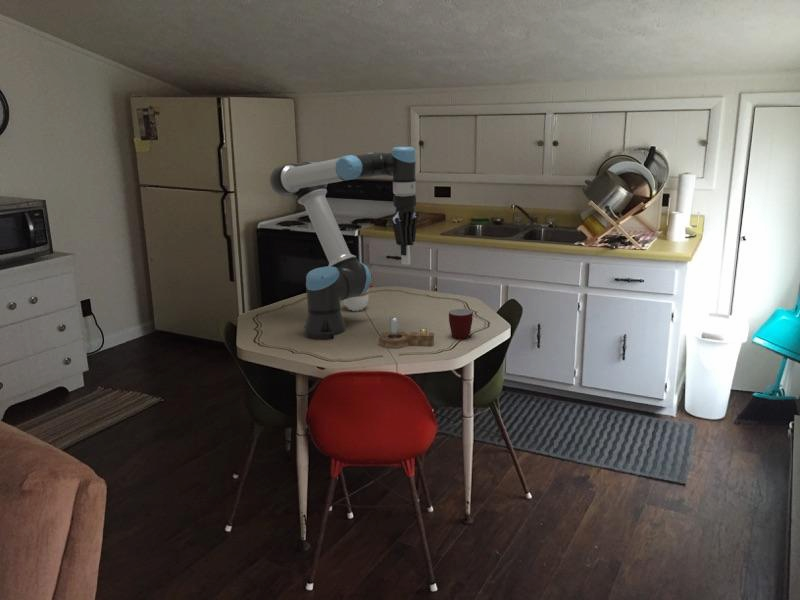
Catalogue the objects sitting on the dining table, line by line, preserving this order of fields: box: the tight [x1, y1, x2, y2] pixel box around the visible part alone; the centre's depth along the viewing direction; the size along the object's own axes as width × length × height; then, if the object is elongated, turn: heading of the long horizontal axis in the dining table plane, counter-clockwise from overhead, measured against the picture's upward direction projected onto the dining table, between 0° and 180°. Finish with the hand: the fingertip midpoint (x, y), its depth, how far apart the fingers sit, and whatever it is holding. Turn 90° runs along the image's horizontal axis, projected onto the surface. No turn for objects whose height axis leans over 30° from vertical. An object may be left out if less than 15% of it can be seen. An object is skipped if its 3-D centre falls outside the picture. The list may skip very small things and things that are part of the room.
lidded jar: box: [342, 289, 370, 312], centre depth 277 cm, size 11×11×9 cm
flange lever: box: [378, 331, 435, 349], centre depth 231 cm, size 18×10×4 cm, turn 81°
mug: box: [448, 308, 474, 340], centre depth 238 cm, size 11×8×10 cm
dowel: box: [419, 327, 428, 335], centre depth 231 cm, size 2×2×5 cm
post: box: [389, 316, 400, 339], centre depth 231 cm, size 3×3×9 cm
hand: (406, 264), depth 235 cm, fingers closed
